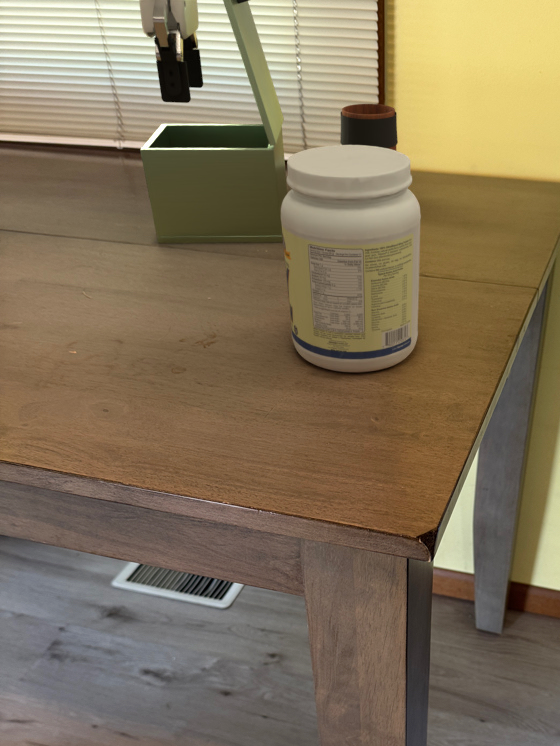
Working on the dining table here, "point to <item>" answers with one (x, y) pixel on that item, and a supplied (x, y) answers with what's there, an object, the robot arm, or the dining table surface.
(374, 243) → the supplement tub
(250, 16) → the bin lid
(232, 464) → the dining table surface
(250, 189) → the bin
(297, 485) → the dining table surface
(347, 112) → the mug
